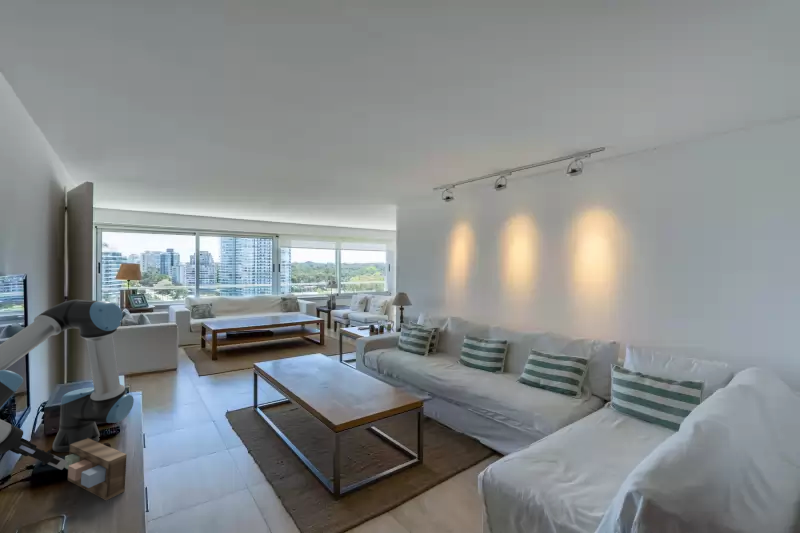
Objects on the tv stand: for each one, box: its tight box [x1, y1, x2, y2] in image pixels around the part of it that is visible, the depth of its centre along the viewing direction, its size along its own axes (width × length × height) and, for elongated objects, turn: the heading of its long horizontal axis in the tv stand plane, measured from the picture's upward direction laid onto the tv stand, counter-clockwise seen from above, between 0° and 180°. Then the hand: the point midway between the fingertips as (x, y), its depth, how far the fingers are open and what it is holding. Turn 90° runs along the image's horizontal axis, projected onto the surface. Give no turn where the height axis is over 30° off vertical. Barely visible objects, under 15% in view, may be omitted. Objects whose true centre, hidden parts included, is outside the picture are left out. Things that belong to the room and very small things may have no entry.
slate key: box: [81, 465, 106, 488], centre depth 120 cm, size 4×5×4 cm
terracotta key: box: [67, 459, 93, 481], centre depth 124 cm, size 4×5×4 cm
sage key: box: [64, 453, 80, 470], centre depth 129 cm, size 4×5×4 cm
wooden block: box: [67, 438, 128, 501], centre depth 128 cm, size 24×6×13 cm, turn 66°
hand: (64, 465), depth 126 cm, fingers closed
